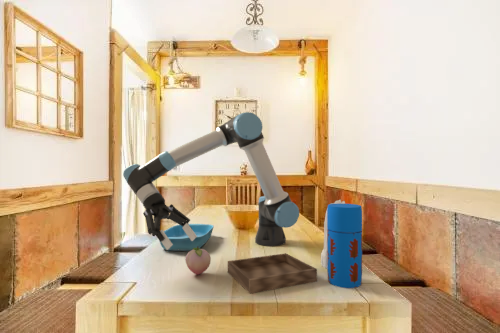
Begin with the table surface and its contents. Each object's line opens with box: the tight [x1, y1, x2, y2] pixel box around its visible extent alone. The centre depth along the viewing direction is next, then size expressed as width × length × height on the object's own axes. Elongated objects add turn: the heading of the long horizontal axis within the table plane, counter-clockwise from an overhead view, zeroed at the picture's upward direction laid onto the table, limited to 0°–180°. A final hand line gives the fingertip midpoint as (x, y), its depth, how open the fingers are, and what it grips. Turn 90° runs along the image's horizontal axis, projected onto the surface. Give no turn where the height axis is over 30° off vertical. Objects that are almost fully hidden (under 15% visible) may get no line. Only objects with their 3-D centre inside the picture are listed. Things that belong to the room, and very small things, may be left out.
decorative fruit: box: [184, 246, 212, 276], centre depth 108 cm, size 9×8×10 cm
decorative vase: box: [320, 199, 346, 269], centre depth 117 cm, size 11×11×25 cm
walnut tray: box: [227, 253, 318, 294], centre depth 106 cm, size 24×20×4 cm
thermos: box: [326, 203, 363, 289], centre depth 101 cm, size 11×11×25 cm
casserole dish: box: [159, 223, 214, 252], centre depth 151 cm, size 37×22×7 cm, turn 176°
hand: (182, 242), depth 110 cm, fingers open, 13 cm apart
